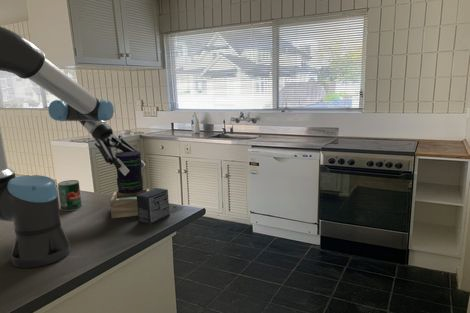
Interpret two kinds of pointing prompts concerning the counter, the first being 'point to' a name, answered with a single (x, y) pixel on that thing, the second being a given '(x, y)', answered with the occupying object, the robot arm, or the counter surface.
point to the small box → (153, 205)
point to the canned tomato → (69, 195)
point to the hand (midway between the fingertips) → (135, 170)
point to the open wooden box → (124, 204)
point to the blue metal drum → (130, 173)
